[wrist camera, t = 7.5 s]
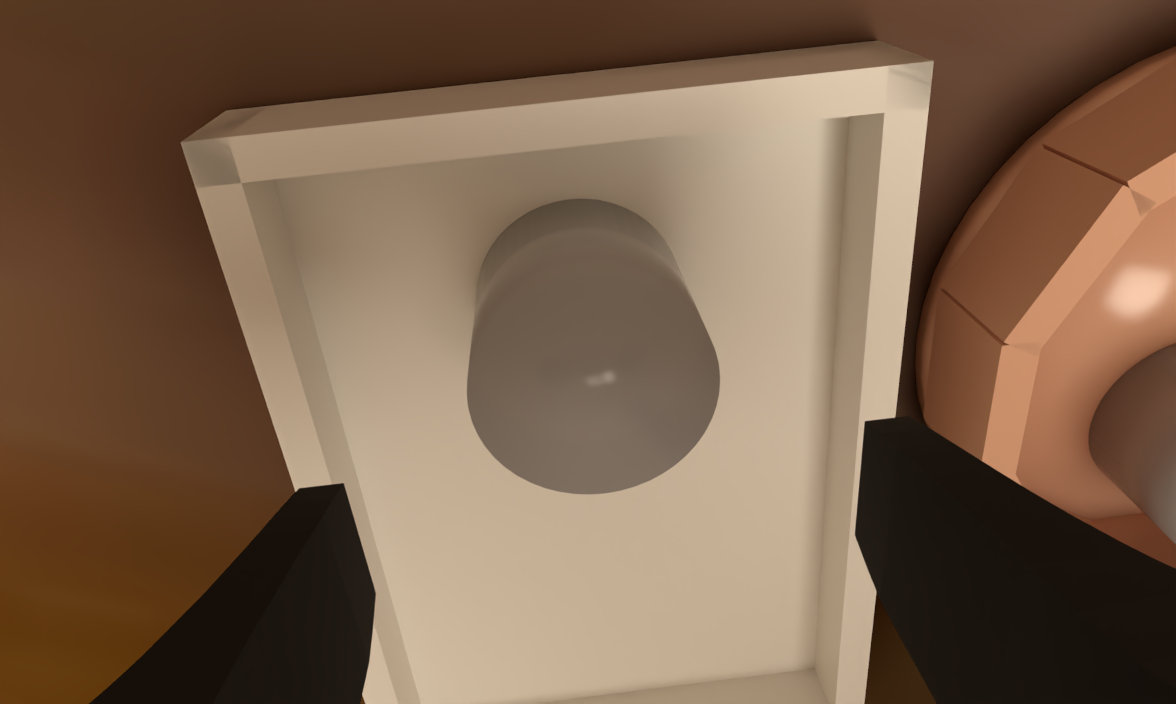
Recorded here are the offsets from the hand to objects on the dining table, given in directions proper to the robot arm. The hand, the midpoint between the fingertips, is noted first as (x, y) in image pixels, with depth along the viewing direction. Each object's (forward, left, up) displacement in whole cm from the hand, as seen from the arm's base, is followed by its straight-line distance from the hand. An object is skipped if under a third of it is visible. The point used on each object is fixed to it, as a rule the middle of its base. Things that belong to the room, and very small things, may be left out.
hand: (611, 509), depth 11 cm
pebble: (0, 0, -7) cm, 7 cm away
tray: (-5, 0, -8) cm, 9 cm away
